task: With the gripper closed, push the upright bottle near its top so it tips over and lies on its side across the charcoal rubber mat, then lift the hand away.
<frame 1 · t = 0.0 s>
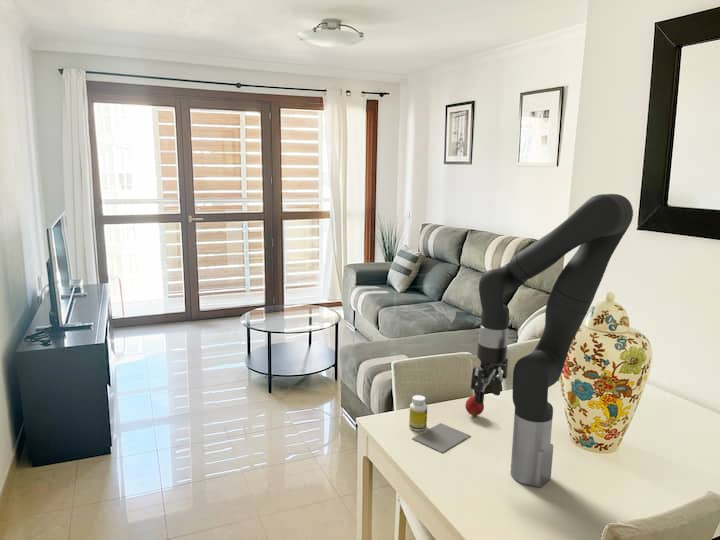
hand: (487, 398, 143), 17 cm above the table, tool pointing down, fingers open, 8 cm apart
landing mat: (441, 437, 156), on the table
supplement bottle: (417, 428, 162), on the table
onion: (473, 417, 170), on the table
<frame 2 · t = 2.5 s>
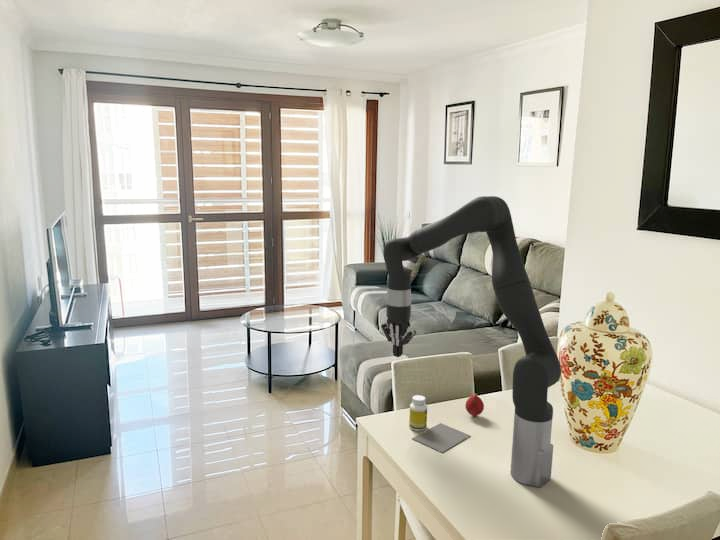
hand: (397, 356, 165), 21 cm above the table, tool pointing down, fingers closed
nothing on the table moved.
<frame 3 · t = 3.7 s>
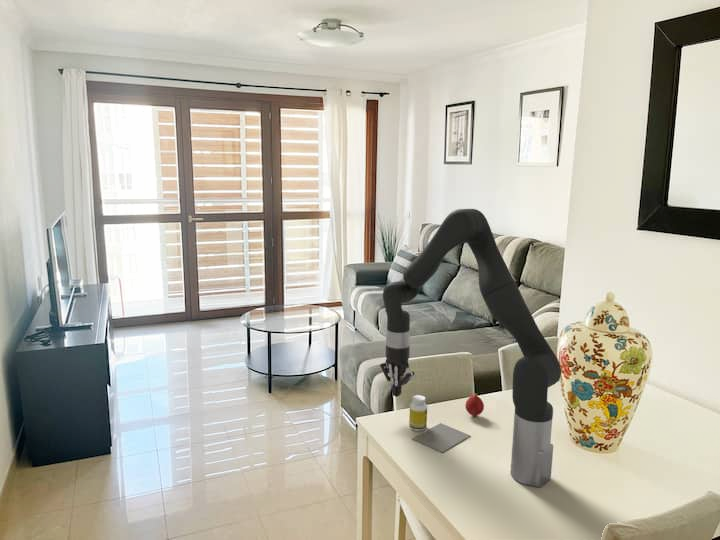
hand: (396, 395, 167), 8 cm above the table, tool pointing down, fingers closed
nothing on the table moved.
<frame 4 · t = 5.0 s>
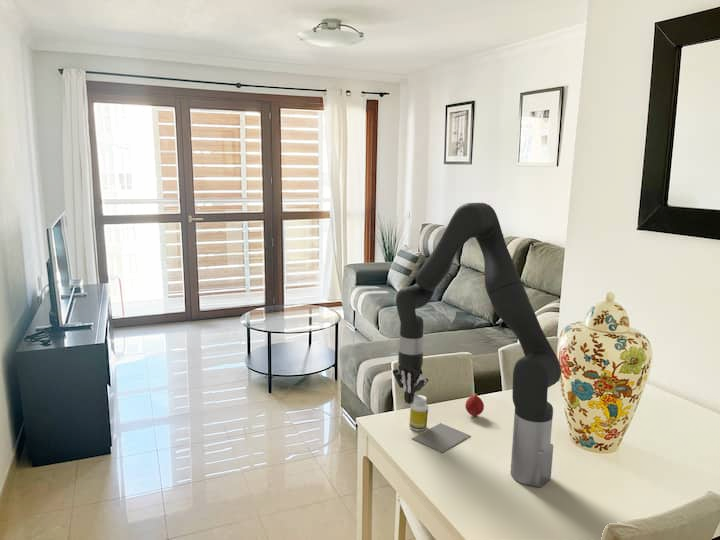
hand: (408, 402, 164), 7 cm above the table, tool pointing down, fingers closed
supplement bottle: (417, 427, 162), on the table, touching gripper
everything else where it was.
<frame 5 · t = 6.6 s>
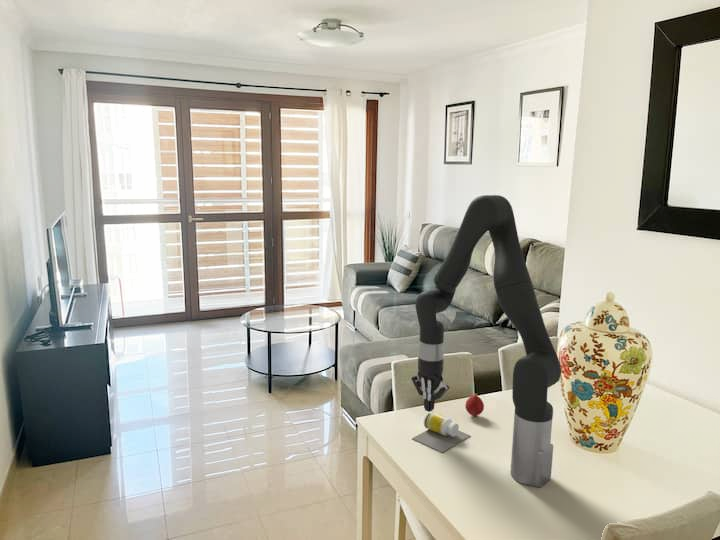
hand: (428, 410, 158), 7 cm above the table, tool pointing down, fingers closed
supplement bottle: (427, 419, 161), point 3 cm above the table, touching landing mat
everything else where it was.
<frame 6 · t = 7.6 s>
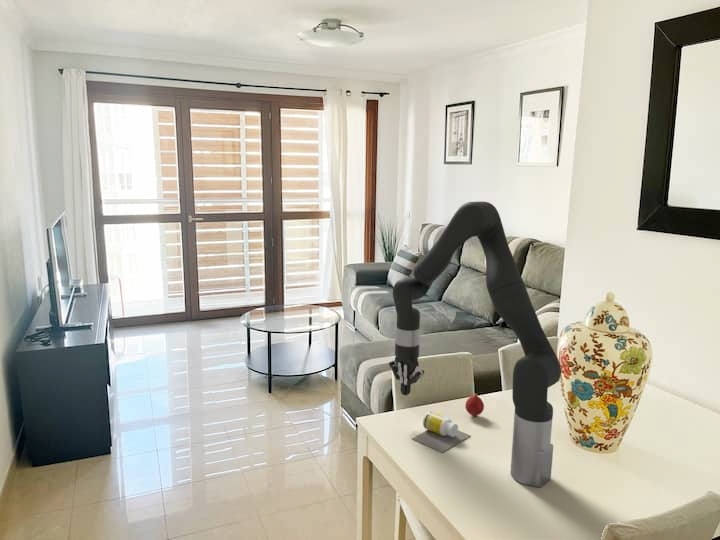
hand: (405, 394, 164), 9 cm above the table, tool pointing down, fingers closed
nothing on the table moved.
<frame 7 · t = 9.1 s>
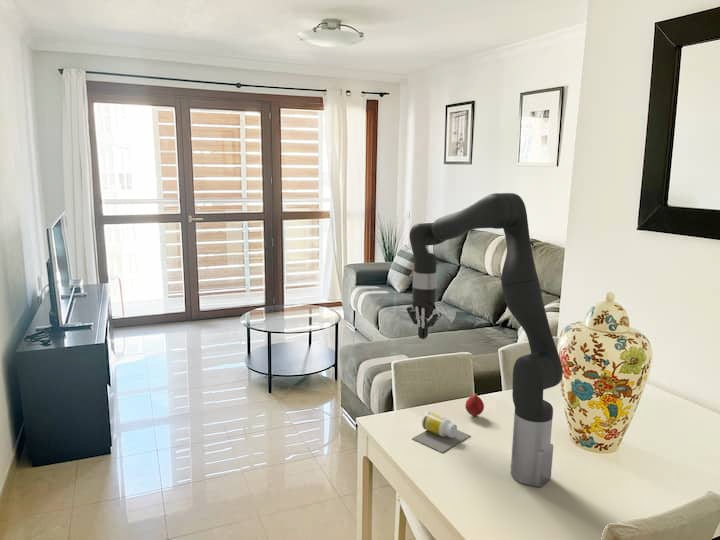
hand: (422, 338, 170), 25 cm above the table, tool pointing down, fingers closed
nothing on the table moved.
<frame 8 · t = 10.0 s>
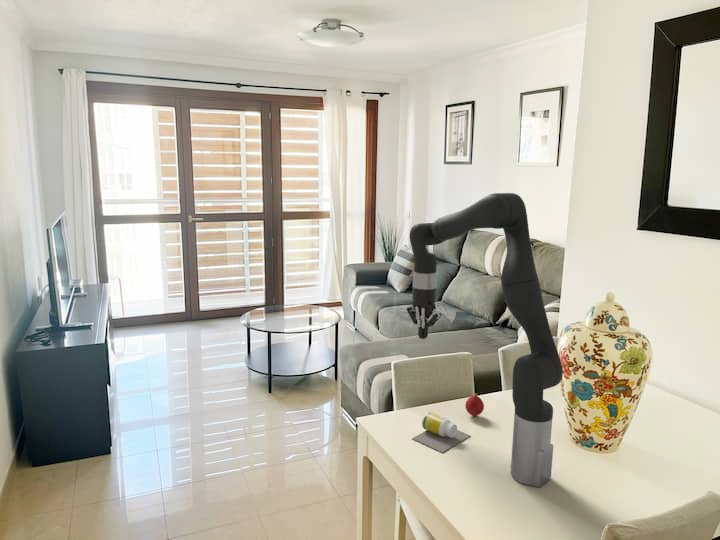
hand: (422, 338, 170), 25 cm above the table, tool pointing down, fingers closed
nothing on the table moved.
at the end: supplement bottle tilted 90°; supplement bottle touching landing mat; supplement bottle inside the target area (4.7 cm from its centre), point 3.0 cm above the table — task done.
